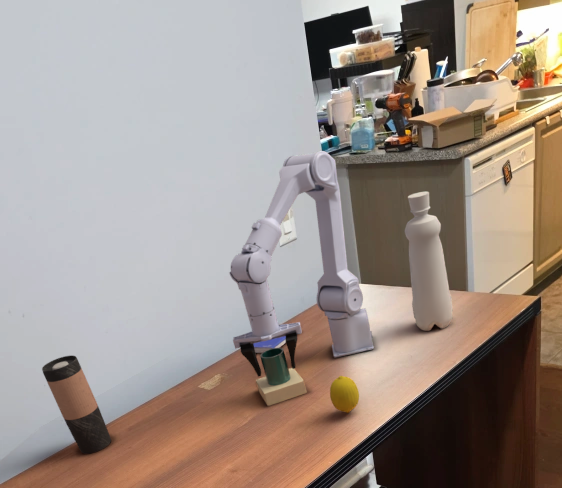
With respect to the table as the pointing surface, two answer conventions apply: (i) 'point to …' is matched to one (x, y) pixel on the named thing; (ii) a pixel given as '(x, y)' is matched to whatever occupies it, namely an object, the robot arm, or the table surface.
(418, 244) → the bottle
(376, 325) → the table surface
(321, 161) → the robot arm
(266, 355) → the cup
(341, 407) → the lemon
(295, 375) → the block
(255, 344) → the blue book
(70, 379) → the travel mug
